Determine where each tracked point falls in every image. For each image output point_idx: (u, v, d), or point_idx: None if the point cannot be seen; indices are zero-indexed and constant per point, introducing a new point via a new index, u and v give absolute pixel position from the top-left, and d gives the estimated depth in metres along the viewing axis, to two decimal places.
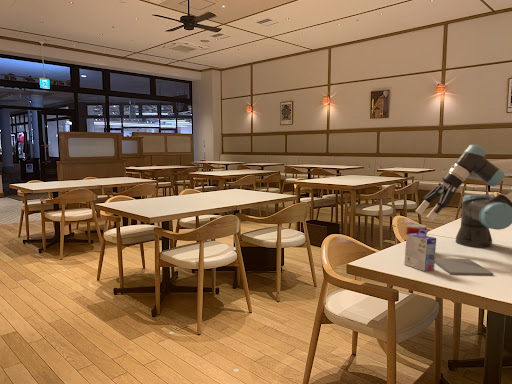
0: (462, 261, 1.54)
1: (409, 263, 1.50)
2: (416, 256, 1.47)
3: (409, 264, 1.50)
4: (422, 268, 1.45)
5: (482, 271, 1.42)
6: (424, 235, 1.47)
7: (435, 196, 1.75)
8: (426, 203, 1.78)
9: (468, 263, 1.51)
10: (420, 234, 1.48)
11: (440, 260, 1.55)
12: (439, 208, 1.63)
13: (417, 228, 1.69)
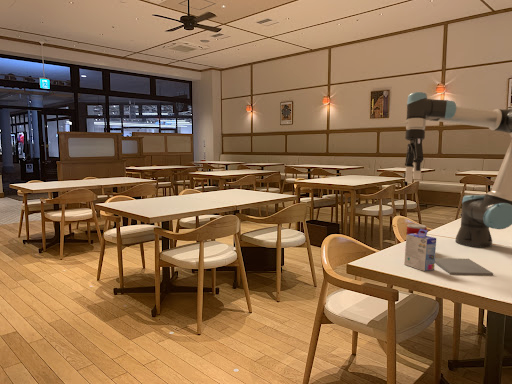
0: (462, 261, 1.54)
1: (409, 263, 1.50)
2: (416, 256, 1.47)
3: (409, 264, 1.50)
4: (422, 268, 1.45)
5: (482, 271, 1.42)
6: (424, 235, 1.47)
7: (412, 157, 1.68)
8: (409, 168, 1.70)
9: (468, 263, 1.51)
10: (420, 234, 1.48)
11: (440, 260, 1.55)
12: (418, 164, 1.56)
13: (417, 228, 1.69)
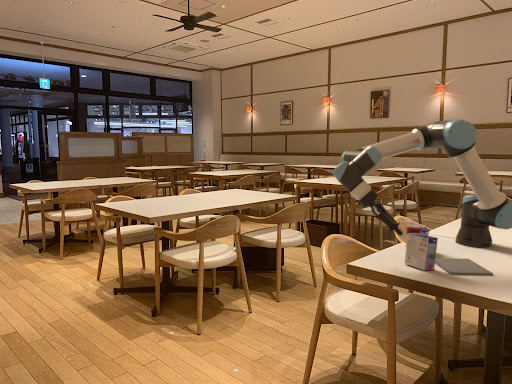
0: (462, 261, 1.54)
1: (409, 262, 1.50)
2: (417, 255, 1.47)
3: (409, 263, 1.50)
4: (422, 267, 1.45)
5: (482, 271, 1.42)
6: (426, 234, 1.47)
7: (387, 216, 1.52)
8: None
9: (468, 263, 1.51)
10: (422, 233, 1.49)
11: (440, 260, 1.55)
12: (397, 230, 1.49)
13: (417, 228, 1.69)
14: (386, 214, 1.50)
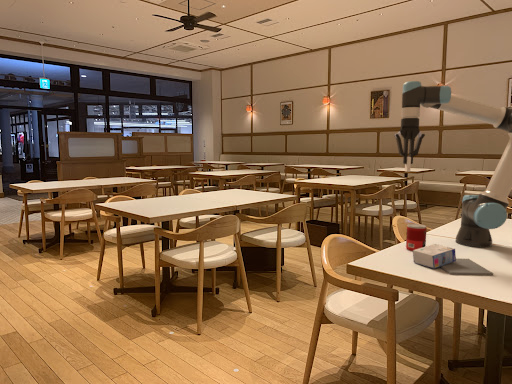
0: (462, 261, 1.54)
1: (419, 250, 1.52)
2: (432, 250, 1.51)
3: (419, 251, 1.52)
4: (432, 254, 1.47)
5: (482, 271, 1.42)
6: None
7: (410, 145, 1.74)
8: None
9: (468, 263, 1.51)
10: None
11: None
12: (403, 158, 1.75)
13: (417, 228, 1.69)
14: (405, 142, 1.73)
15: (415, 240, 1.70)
